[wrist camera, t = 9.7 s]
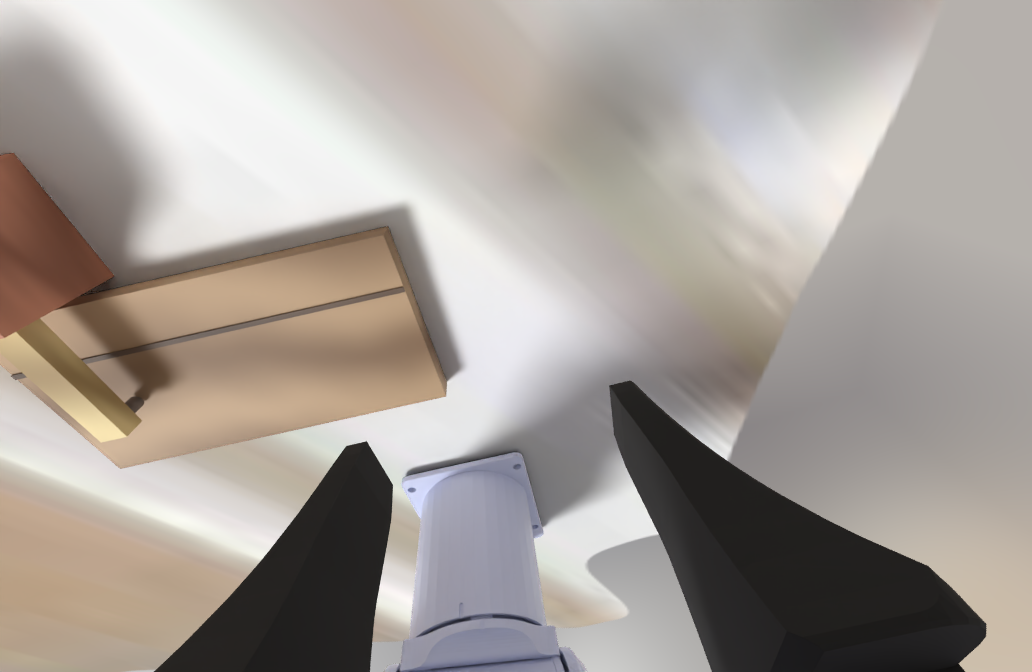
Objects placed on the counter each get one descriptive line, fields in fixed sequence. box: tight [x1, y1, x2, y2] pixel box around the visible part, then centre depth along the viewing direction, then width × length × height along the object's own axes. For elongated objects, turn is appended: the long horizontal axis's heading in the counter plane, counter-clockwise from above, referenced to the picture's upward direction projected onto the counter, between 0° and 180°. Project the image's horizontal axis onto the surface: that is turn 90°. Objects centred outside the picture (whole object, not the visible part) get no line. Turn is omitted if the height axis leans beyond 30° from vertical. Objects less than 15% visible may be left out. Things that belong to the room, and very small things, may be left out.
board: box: [0, 226, 447, 469], centre depth 19 cm, size 9×18×1 cm, turn 101°
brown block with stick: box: [0, 153, 144, 443], centre depth 16 cm, size 11×4×5 cm, turn 11°
